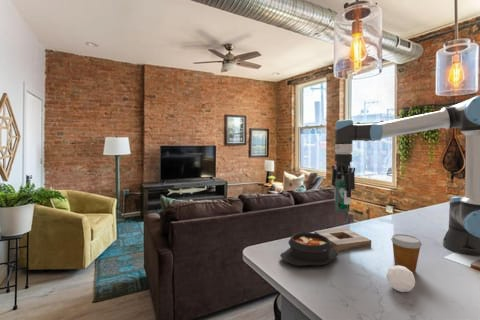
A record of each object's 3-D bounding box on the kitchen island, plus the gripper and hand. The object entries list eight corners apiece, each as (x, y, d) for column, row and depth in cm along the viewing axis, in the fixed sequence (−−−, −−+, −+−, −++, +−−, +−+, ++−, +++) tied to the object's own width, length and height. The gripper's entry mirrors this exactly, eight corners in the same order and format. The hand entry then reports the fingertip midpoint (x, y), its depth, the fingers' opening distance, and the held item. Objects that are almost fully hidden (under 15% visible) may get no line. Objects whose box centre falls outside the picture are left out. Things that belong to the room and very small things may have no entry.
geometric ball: (396, 300, 82) (382, 281, 81) (393, 280, 89) (380, 262, 88) (422, 296, 78) (408, 276, 77) (417, 275, 84) (404, 257, 83)
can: (342, 212, 119) (343, 180, 118) (332, 209, 124) (333, 178, 123) (351, 211, 121) (352, 179, 120) (341, 208, 127) (342, 177, 126)
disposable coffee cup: (425, 277, 90) (427, 243, 90) (395, 274, 92) (397, 241, 92) (413, 265, 100) (414, 234, 99) (386, 262, 102) (387, 232, 101)
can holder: (371, 246, 117) (371, 240, 117) (336, 251, 112) (336, 244, 112) (345, 233, 135) (345, 227, 134) (314, 236, 130) (314, 231, 130)
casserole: (301, 276, 92) (301, 253, 91) (270, 256, 108) (271, 236, 107) (349, 261, 103) (350, 240, 103) (315, 245, 120) (316, 227, 119)
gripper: (324, 152, 129) (323, 198, 131) (350, 154, 111) (349, 207, 112) (337, 152, 131) (336, 197, 133) (365, 154, 113) (363, 206, 114)
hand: (342, 202), depth 122 cm, fingers closed on can, 6 cm apart
